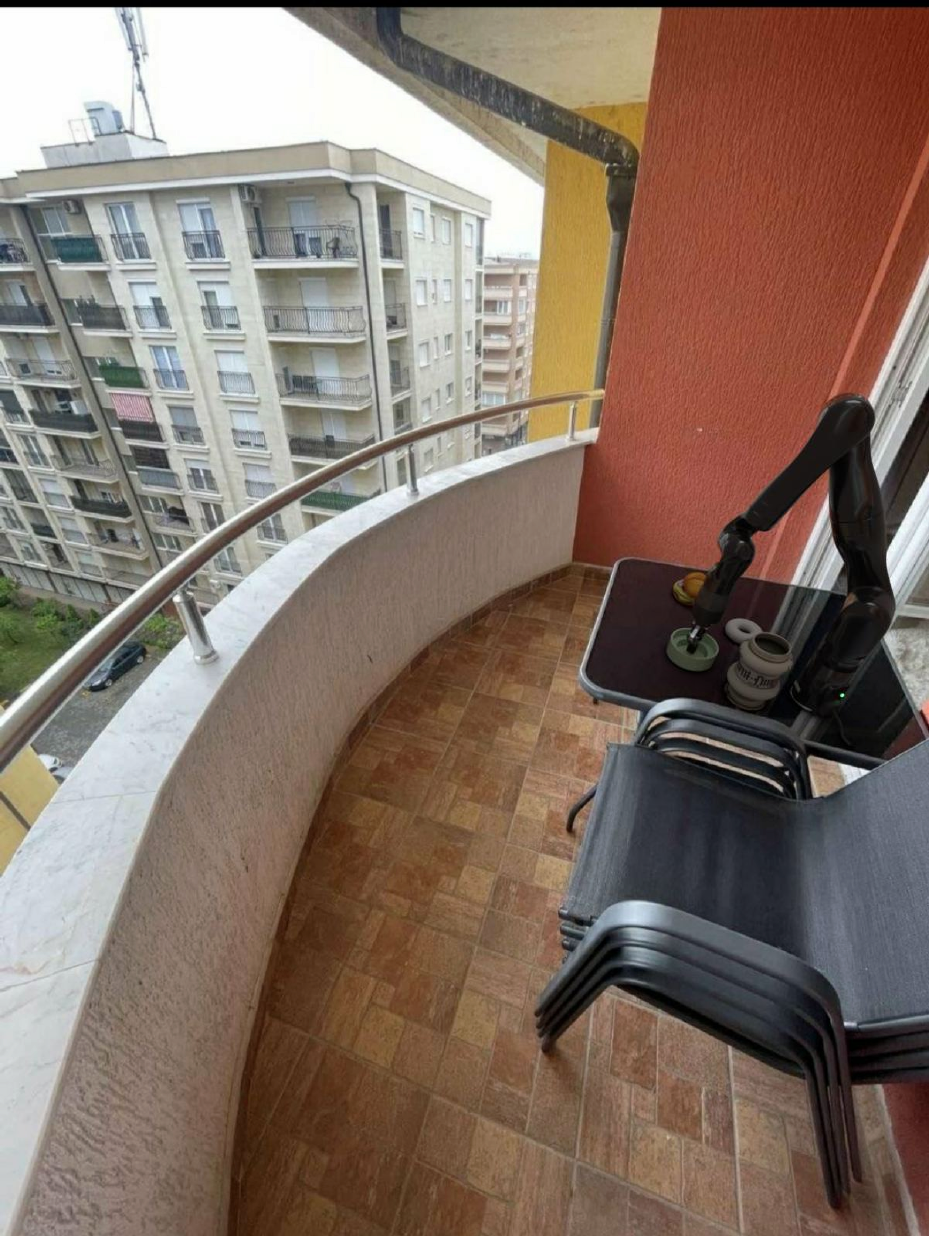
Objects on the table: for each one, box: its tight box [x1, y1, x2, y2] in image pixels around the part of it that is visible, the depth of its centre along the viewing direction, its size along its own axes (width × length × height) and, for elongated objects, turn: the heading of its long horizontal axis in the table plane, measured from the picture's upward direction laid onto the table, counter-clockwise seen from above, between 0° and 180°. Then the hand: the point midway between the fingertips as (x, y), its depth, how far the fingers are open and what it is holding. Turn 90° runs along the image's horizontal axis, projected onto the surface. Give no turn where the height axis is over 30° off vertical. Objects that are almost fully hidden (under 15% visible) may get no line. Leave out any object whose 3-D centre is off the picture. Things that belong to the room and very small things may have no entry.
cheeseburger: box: [672, 571, 706, 607], centre depth 166 cm, size 10×11×10 cm
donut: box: [724, 617, 764, 645], centre depth 155 cm, size 10×4×10 cm
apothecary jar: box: [723, 631, 794, 711], centre depth 133 cm, size 12×12×18 cm
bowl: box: [665, 627, 720, 672], centre depth 147 cm, size 12×12×5 cm
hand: (690, 651), depth 148 cm, fingers closed
